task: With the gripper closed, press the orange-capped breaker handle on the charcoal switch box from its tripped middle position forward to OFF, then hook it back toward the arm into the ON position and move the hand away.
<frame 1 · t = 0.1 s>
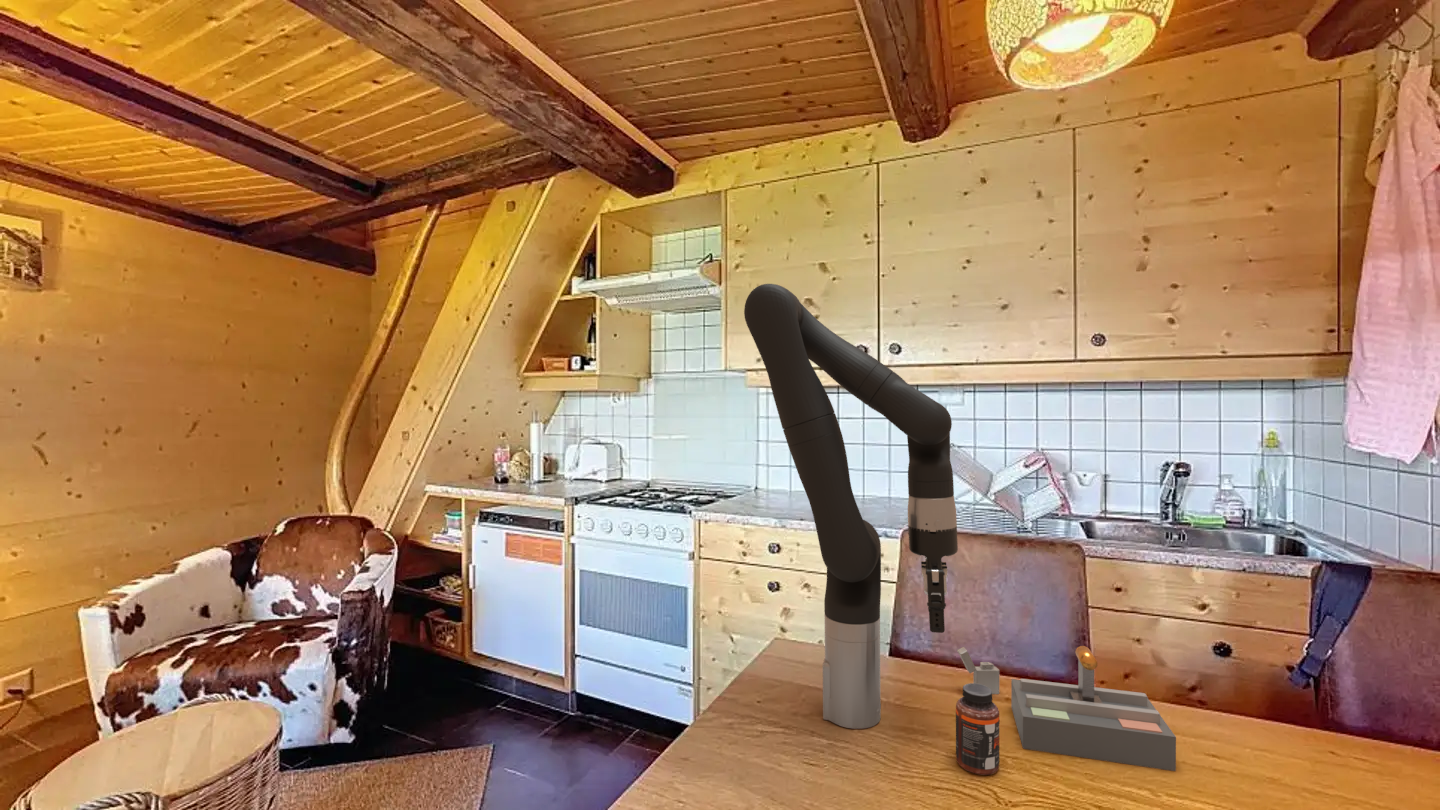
hand: (936, 622, 102), 17 cm above the table, tool pointing down, fingers open, 8 cm apart
switch box: (1086, 736, 100), on the table
breaker handle: (1086, 677, 99), point 9 cm above the table, slide at 0.0 cm
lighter: (978, 692, 115), on the table
supplement bottle: (977, 766, 92), on the table
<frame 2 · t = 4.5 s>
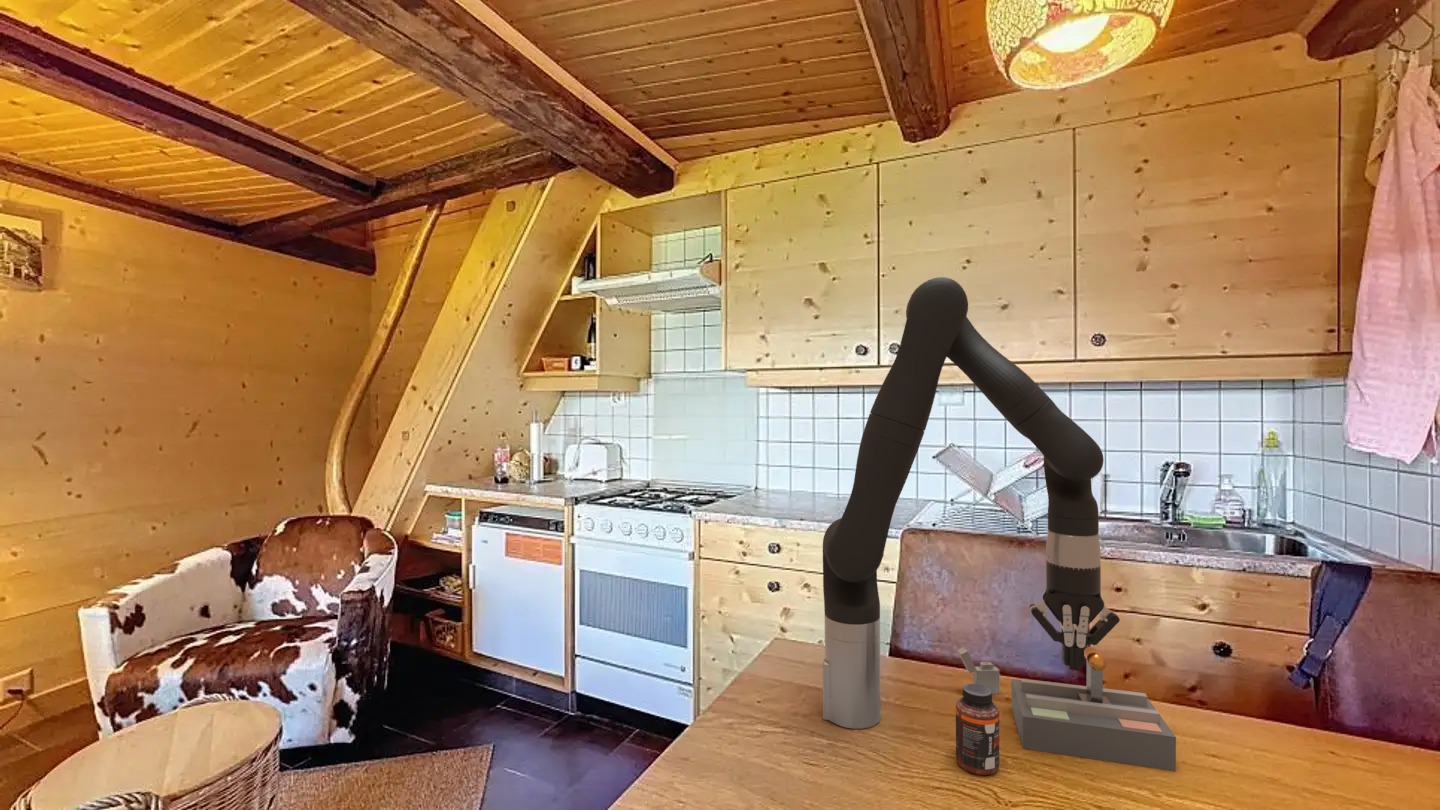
hand: (1073, 667, 100), 11 cm above the table, tool pointing down, fingers closed
breaker handle: (1094, 678, 99), point 9 cm above the table, slide at 1.2 cm, touching gripper
everything else where it was.
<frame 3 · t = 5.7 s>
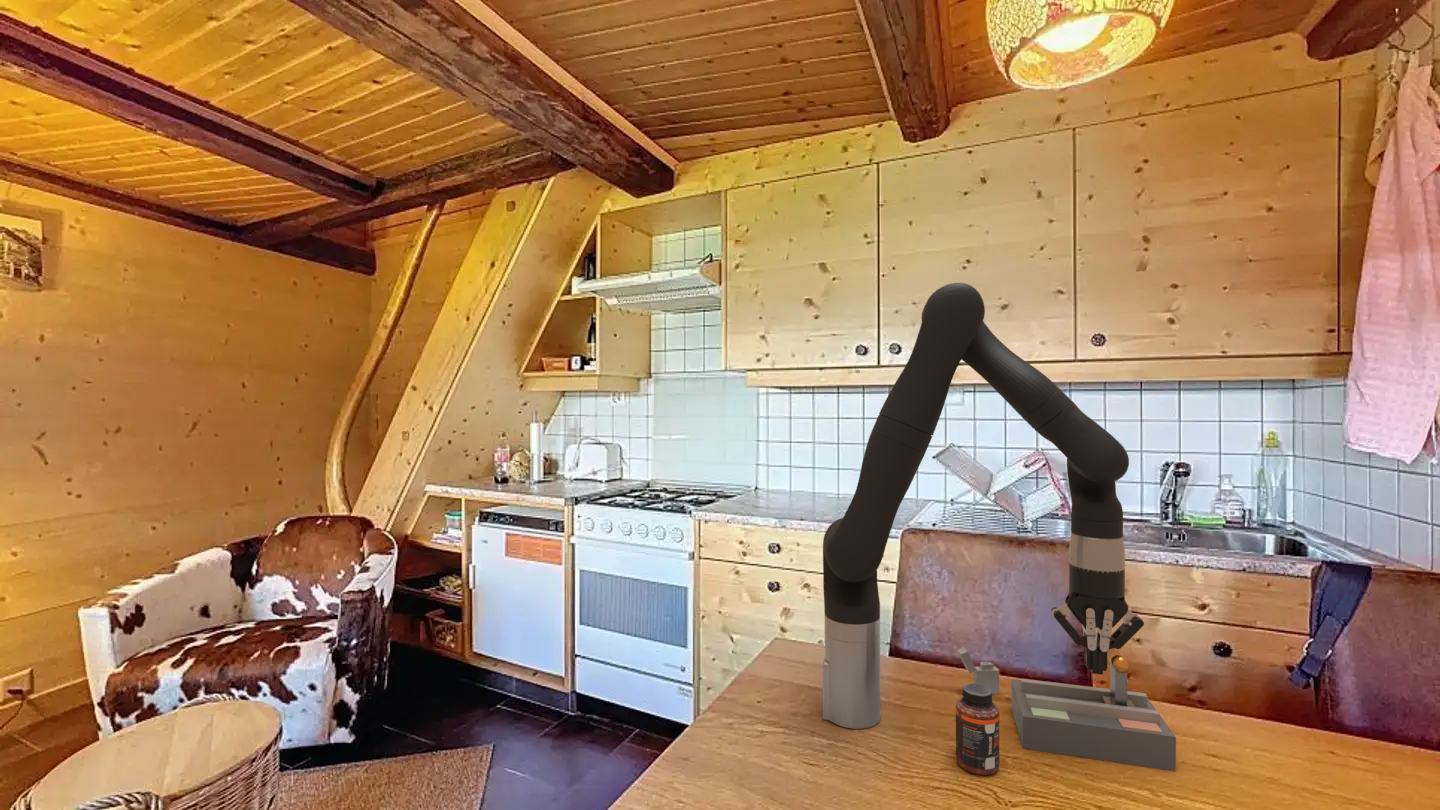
hand: (1096, 671, 99), 11 cm above the table, tool pointing down, fingers closed
breaker handle: (1118, 681, 98), point 9 cm above the table, slide at 4.5 cm, touching gripper
everything else where it was.
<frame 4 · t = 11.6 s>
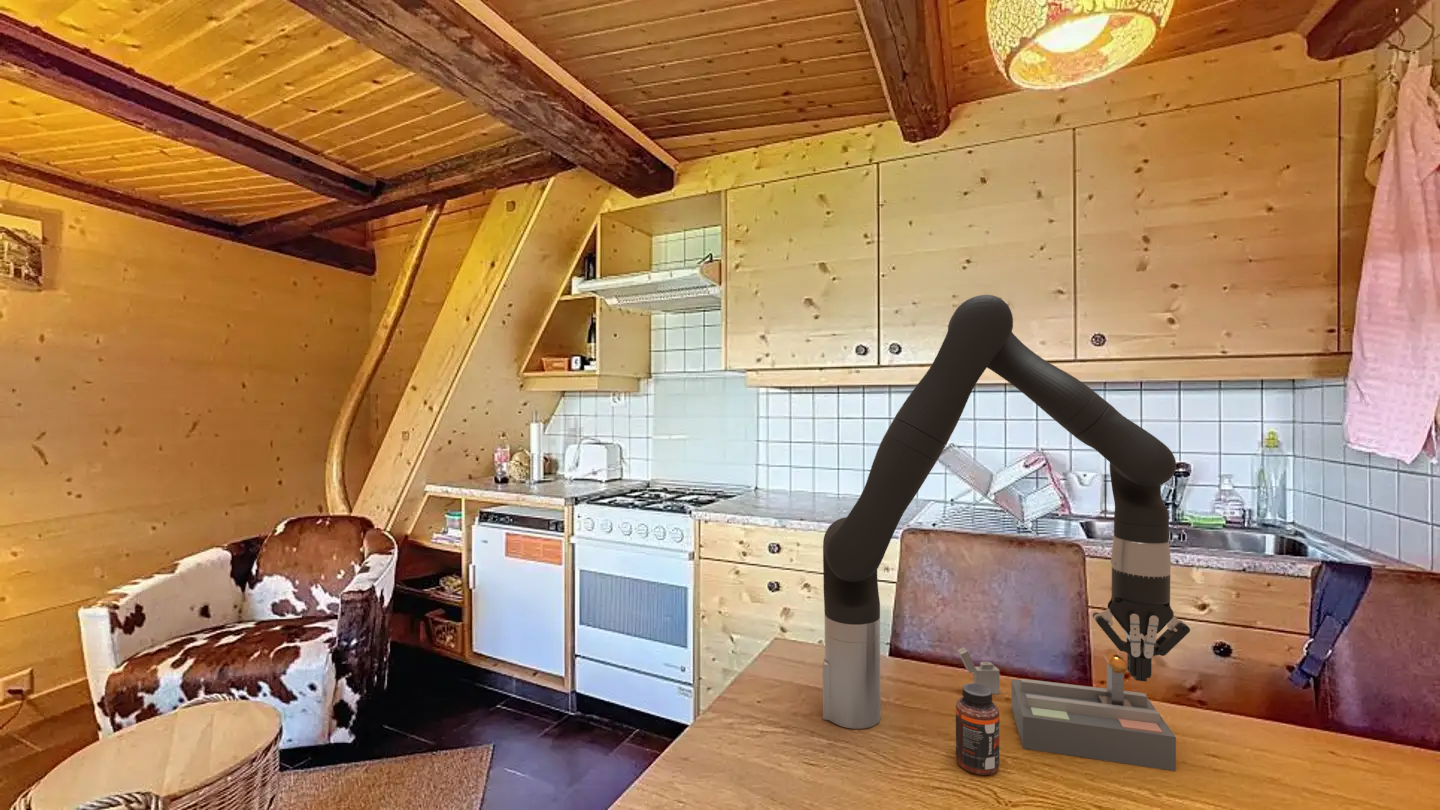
hand: (1139, 678, 97), 10 cm above the table, tool pointing down, fingers closed
breaker handle: (1115, 680, 98), point 9 cm above the table, slide at 4.0 cm, touching gripper
everything else where it was.
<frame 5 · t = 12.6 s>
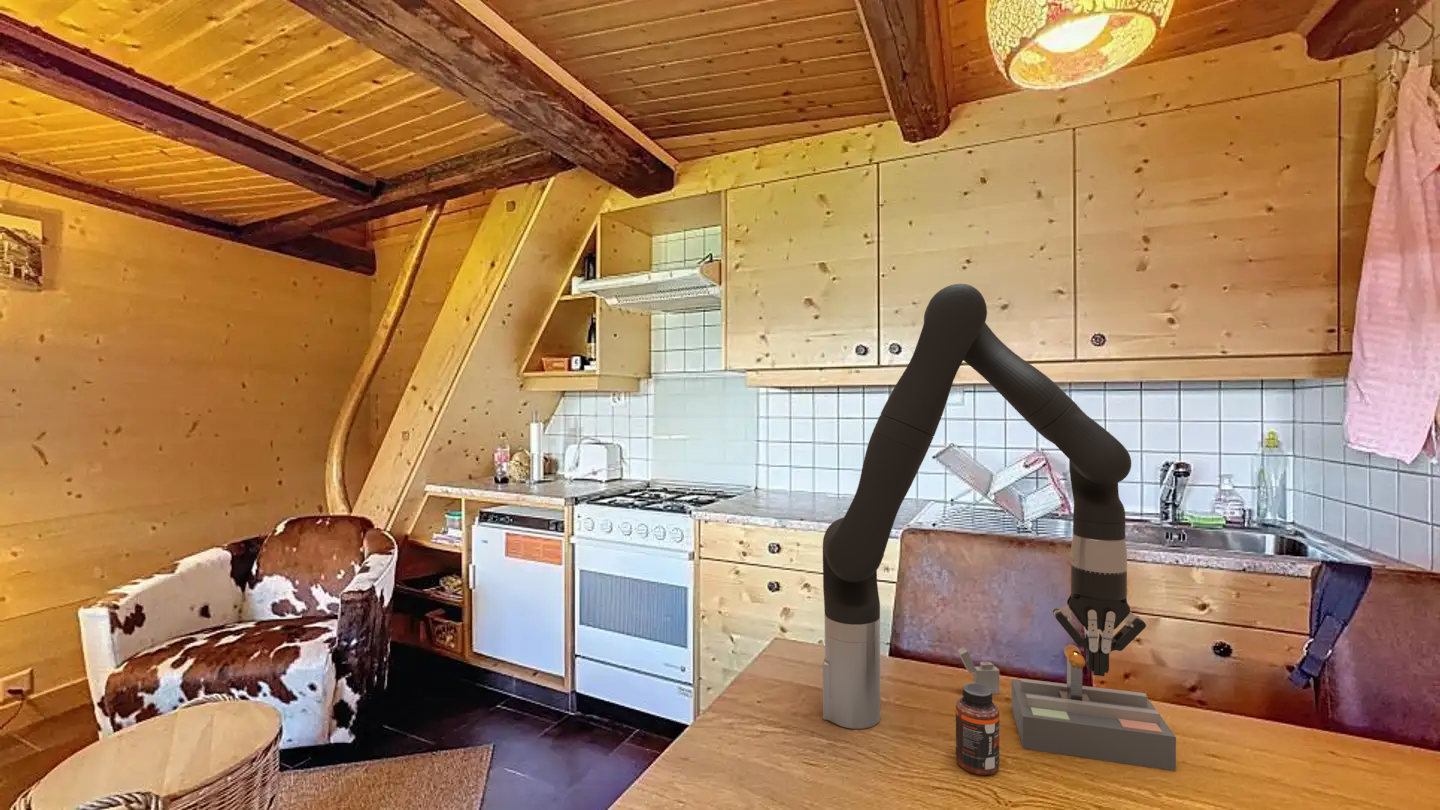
hand: (1097, 673, 99), 10 cm above the table, tool pointing down, fingers closed
breaker handle: (1074, 676, 100), point 9 cm above the table, slide at -1.6 cm, touching gripper
everything else where it was.
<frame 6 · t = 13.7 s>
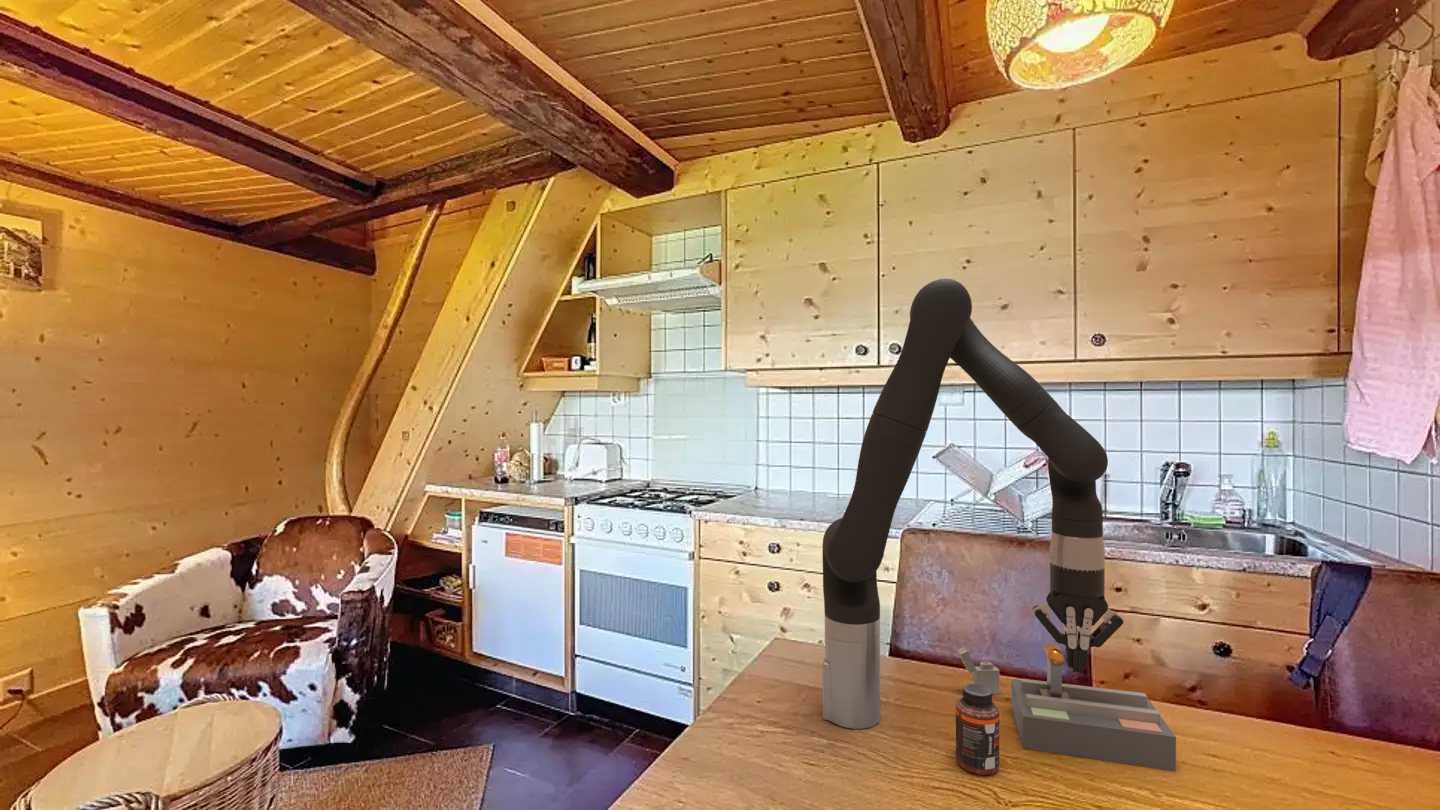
hand: (1076, 670, 100), 10 cm above the table, tool pointing down, fingers closed
breaker handle: (1054, 673, 101), point 9 cm above the table, slide at -4.5 cm, touching gripper
everything else where it was.
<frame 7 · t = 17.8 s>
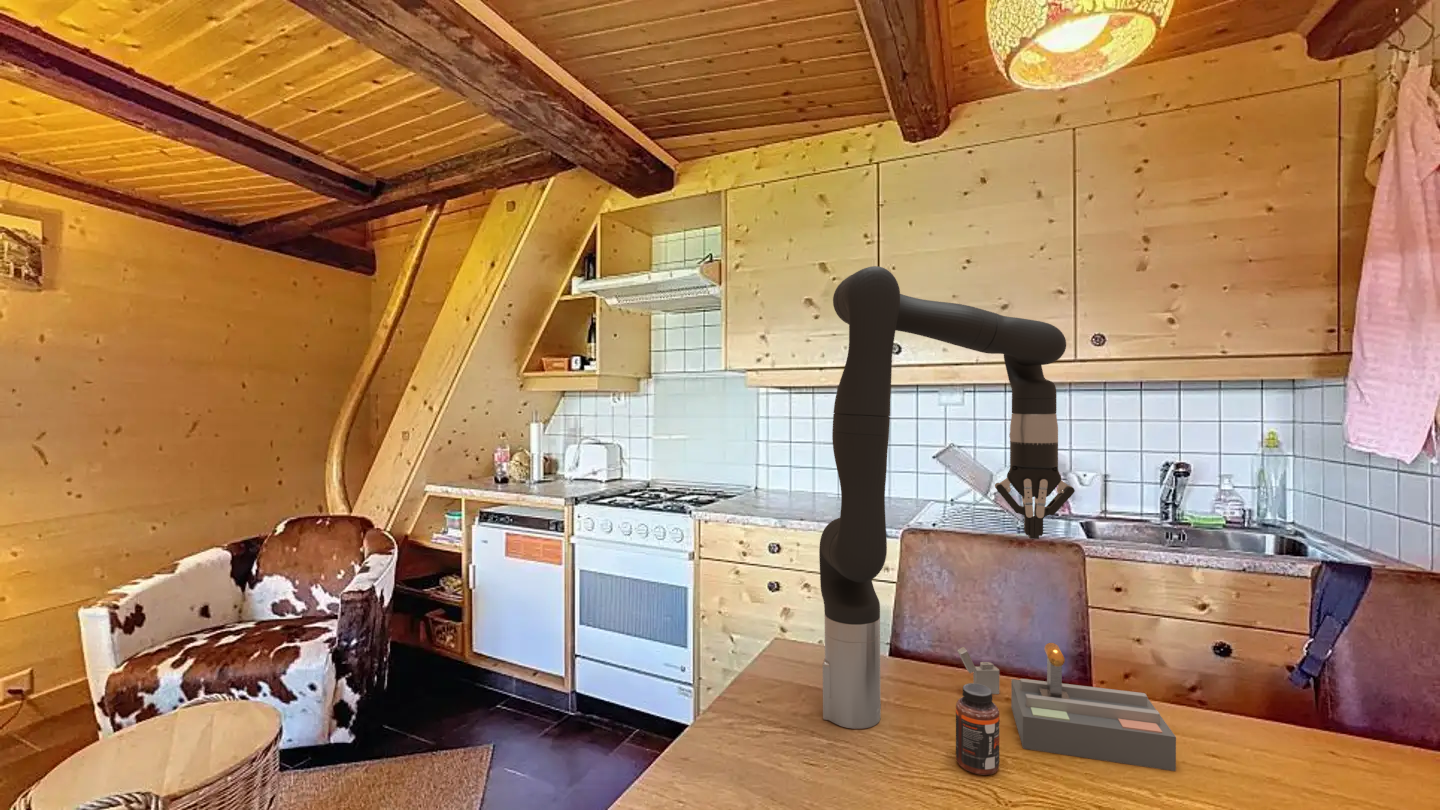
hand: (1033, 537, 110), 29 cm above the table, tool pointing down, fingers closed
breaker handle: (1054, 673, 101), point 9 cm above the table, slide at -4.5 cm
everything else where it was.
at the end: breaker handle slide at -4.5 cm; supplement bottle moved 0.2 cm from its start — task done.
